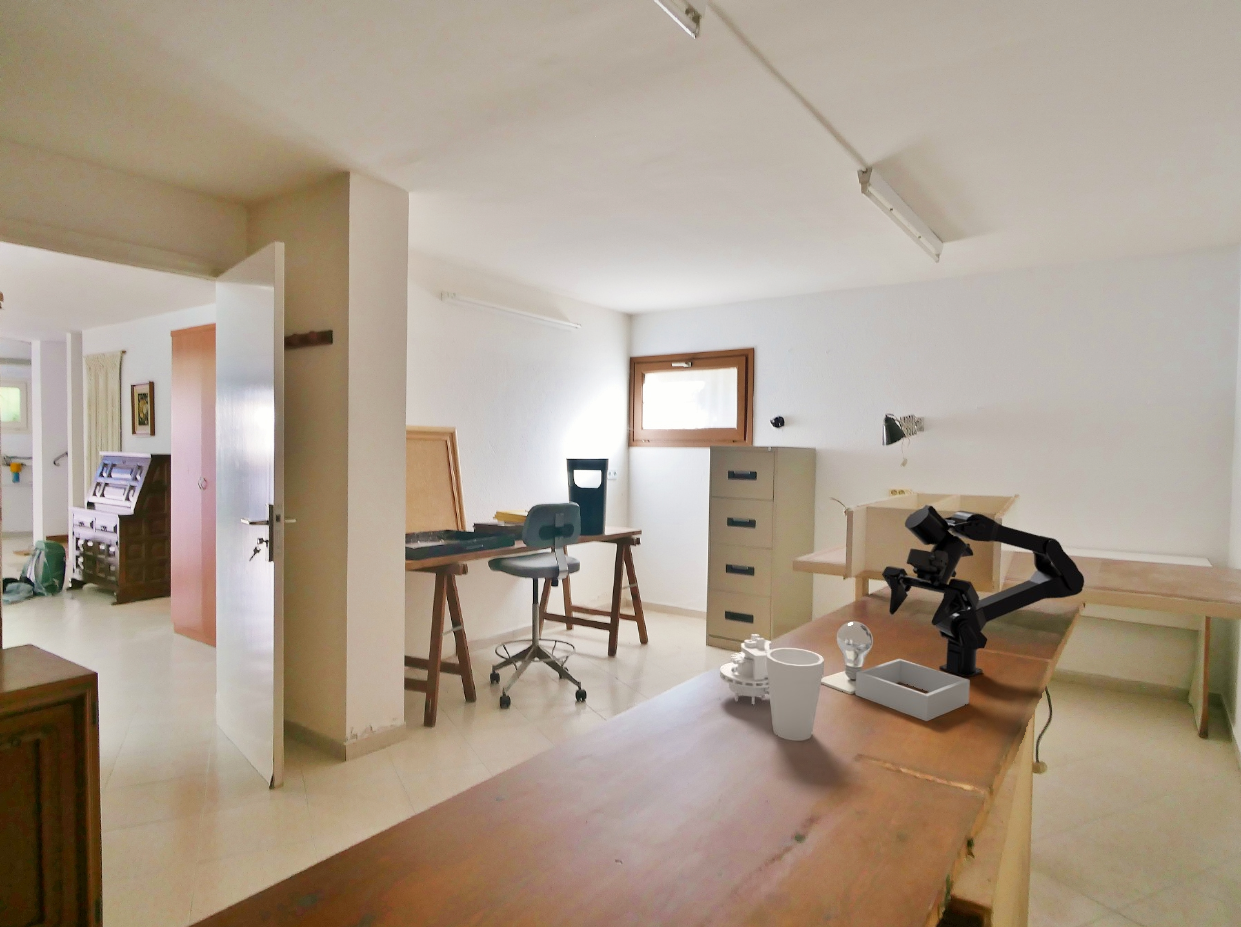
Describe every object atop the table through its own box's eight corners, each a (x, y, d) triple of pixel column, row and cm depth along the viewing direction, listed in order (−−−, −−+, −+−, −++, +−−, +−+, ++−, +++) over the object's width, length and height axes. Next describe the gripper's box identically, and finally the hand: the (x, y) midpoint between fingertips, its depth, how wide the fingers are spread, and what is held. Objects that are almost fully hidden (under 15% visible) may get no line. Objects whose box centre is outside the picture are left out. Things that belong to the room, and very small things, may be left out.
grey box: (898, 680, 144) (899, 658, 144) (968, 703, 132) (969, 680, 132) (855, 694, 135) (856, 672, 135) (926, 721, 123) (927, 696, 123)
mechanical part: (720, 685, 139) (722, 627, 138) (782, 691, 136) (784, 631, 136) (717, 707, 127) (719, 644, 127) (785, 714, 125) (787, 649, 125)
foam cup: (822, 726, 121) (825, 652, 120) (819, 748, 112) (822, 669, 111) (767, 717, 124) (769, 645, 123) (760, 739, 115) (762, 661, 114)
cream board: (852, 670, 149) (852, 668, 149) (886, 682, 142) (886, 679, 142) (816, 681, 142) (816, 679, 142) (850, 694, 135) (850, 691, 135)
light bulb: (864, 689, 137) (867, 628, 136) (830, 680, 141) (832, 622, 141) (875, 679, 143) (878, 621, 142) (842, 671, 147) (844, 615, 146)
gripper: (888, 528, 151) (855, 585, 145) (974, 541, 136) (941, 604, 130) (907, 561, 156) (876, 617, 150) (992, 576, 141) (961, 639, 135)
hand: (911, 618), depth 141 cm, fingers open, 9 cm apart
